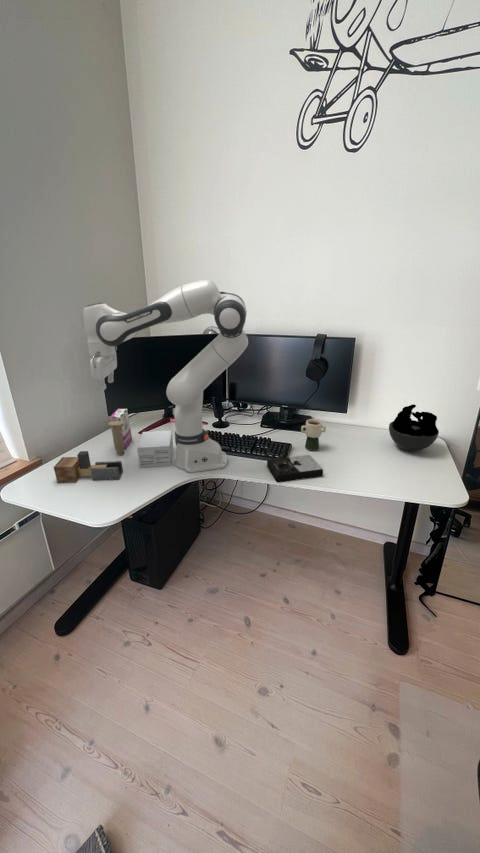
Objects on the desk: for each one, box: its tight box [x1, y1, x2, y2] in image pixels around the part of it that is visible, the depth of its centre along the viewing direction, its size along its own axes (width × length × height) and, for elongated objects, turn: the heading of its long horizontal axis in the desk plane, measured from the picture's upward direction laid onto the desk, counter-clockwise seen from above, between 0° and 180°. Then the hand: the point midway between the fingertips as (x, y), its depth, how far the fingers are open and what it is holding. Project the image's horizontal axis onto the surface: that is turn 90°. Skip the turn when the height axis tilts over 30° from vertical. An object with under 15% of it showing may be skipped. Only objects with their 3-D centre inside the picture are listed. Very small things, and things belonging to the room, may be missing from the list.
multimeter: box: [266, 454, 324, 483], centre depth 141 cm, size 13×19×5 cm
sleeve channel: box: [91, 460, 124, 482], centre depth 138 cm, size 10×6×5 cm, turn 93°
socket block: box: [53, 456, 82, 484], centre depth 137 cm, size 7×8×7 cm
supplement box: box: [136, 430, 174, 468], centre depth 152 cm, size 17×13×9 cm
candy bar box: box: [108, 408, 133, 451], centre depth 162 cm, size 11×5×16 cm, turn 179°
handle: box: [107, 421, 125, 456], centre depth 154 cm, size 5×6×15 cm
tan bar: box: [76, 450, 108, 477], centre depth 136 cm, size 16×3×9 cm, turn 93°
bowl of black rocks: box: [388, 404, 440, 451], centre depth 156 cm, size 20×20×19 cm
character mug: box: [300, 418, 327, 451], centre depth 158 cm, size 11×7×13 cm, turn 90°
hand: (107, 385), depth 135 cm, fingers open, 8 cm apart
